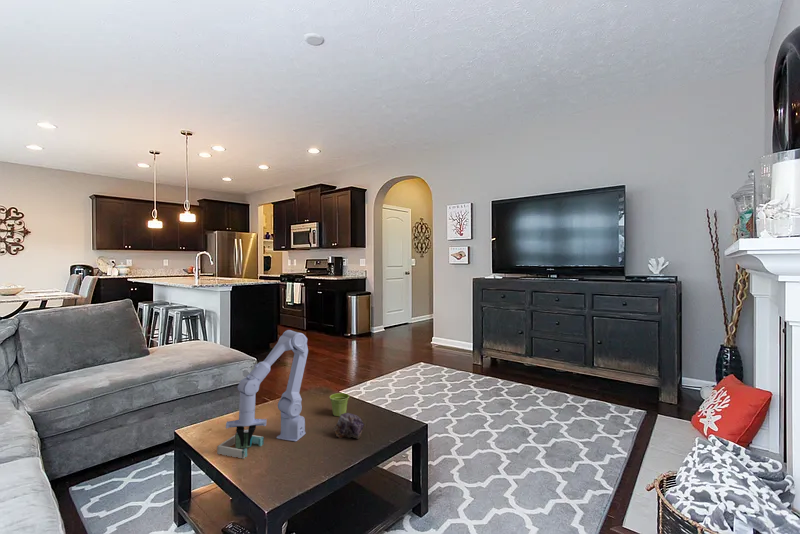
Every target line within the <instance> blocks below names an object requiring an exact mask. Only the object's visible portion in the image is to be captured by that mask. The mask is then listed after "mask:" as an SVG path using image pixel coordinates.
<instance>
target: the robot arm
mask: <svg viewBox="0 0 800 534" xmlns="http://www.w3.org/2000/svg"><path fill="white" fill-rule="evenodd" d="M286 351H292V352H293V359H292V363H291V367H290V371H289V375H288V380H287V385H286V389H285V391H284V392H283V393H281V397H280V399H279V400H278V403H277V409H278V410H279V411H280V434H278V435H277V436H276V438H275V439H279V440H284V441H291V442H297V441H299V440H300V439H301V438H302V437H304V436H305V435H306V434H307V433H306V419H305V417H304V416H303V415H300V414H301V412H302V408H303V407H302V401H303V399H302V396H301V394H300V391H301V386H302V382H303V377H304V373H305V367H306V364H307V358H308V354H309V348H308V337H307V336H306V335H305V334H304V333H302V332H298V331H294V330H291V329H286V330H285V331H284V332H283V333H282V335H280V336H279V339H278V341H277V343H276V344H275V345H274V346H273V348H272V349H271V351H269V354H268V355H266V358H265V359H263V361H259V362H258V363H255V364H254V367H253V368H252V370H251V371H250V372H249V374H246V376H245V377H244V378H242V379H241V380H240V381H239V383H238V385H237V390H238V391H239V406H238V410H239V411H238V419H236V420H229V421H226V423H225V429H229V428H236V429H235V433H236V432H237V434H238V436H239V438H240V441H241V446H243V445H244V430H245V428H246V427H248V429H247V430H248V446H250V441H251V438H252V435H254V433H255V431H256V429H257V427H259V426H260V427H261V426H263V427H266V426H267V420H268V419H267V418H256V417H255V416H256V394H257V392H259V390H260V385H261V383H262V382H263V381H264V380H265V378H266V377H267V376H268V374H269V373H270V372H271V366H272V365H273V364H275V362H276V361H277V359H278V360H279V358H280V357H281V356H282V355H283V353H284V352H286Z"/></svg>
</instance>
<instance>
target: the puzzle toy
mask: <svg viewBox="0 0 800 534" xmlns="http://www.w3.org/2000/svg"><path fill="white" fill-rule="evenodd" d="M234 435H235V444H234V448H237V449H242V450H244V449H245V448H247V449H249V448H251V447H252V444H253V443H252V438H251V441H250V446H248V429H244V445H243V446H241V441H240V438H239V436H238V434H237V432H236V431H235V434H234Z"/></svg>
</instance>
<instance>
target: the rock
mask: <svg viewBox="0 0 800 534" xmlns="http://www.w3.org/2000/svg"><path fill="white" fill-rule="evenodd" d="M364 426H365V423H364V422H363V420H362V419H361V417H360V416H359V415H357V414H354V413H351V412H346V413H344V414H341V415H340V416H339V418H338V420H337V423H336V425H335V426H333V431H334V434H335V435H336V436H335V437H337V438H354V439H361V436H362V433H363V428H364Z"/></svg>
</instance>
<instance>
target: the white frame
mask: <svg viewBox="0 0 800 534" xmlns="http://www.w3.org/2000/svg"><path fill="white" fill-rule="evenodd" d="M252 444H254V445H258V447H262V446H263V445H264V436H261V435H255V434H253V435H252ZM230 446H231V447H230ZM232 446H235V434H234V435H233V436H230V438H228V439H226V440H225V441H223V442H222V443H220V444H219V445H217V447H216V450H217V451H216V453H217V454H218V455H220V454H222V455H221V456H226V455H227V456H226V457H231V456H232V458H236V457H238V459H241V458H242V459H243V460H244V459H246V458H247V457H248V448H243V449H237V448H235V447H232ZM245 457H246V458H245Z"/></svg>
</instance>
